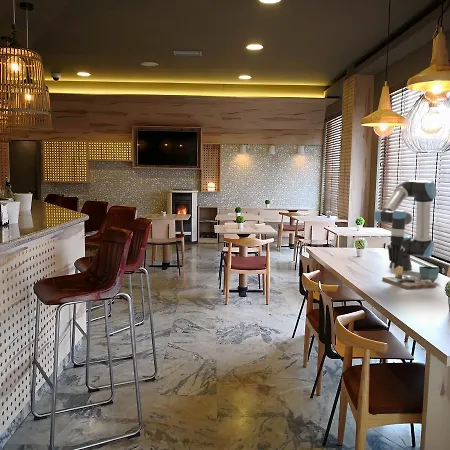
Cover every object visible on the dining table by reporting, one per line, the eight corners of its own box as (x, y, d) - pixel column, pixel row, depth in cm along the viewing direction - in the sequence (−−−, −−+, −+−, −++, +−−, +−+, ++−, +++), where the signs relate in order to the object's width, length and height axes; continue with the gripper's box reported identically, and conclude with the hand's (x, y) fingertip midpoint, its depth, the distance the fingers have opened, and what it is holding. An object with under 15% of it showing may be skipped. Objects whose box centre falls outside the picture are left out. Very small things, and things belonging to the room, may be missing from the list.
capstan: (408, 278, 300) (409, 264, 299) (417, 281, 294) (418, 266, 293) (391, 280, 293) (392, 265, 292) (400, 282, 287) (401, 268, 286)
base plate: (409, 278, 310) (409, 273, 309) (435, 287, 289) (436, 281, 289) (382, 280, 301) (382, 275, 301) (407, 289, 281) (408, 283, 281)
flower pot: (417, 279, 308) (418, 266, 307) (428, 279, 311) (429, 265, 310) (427, 283, 300) (429, 269, 299) (438, 282, 303) (439, 268, 302)
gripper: (410, 236, 287) (406, 275, 290) (394, 233, 298) (390, 270, 301) (401, 237, 284) (397, 275, 287) (385, 234, 295) (381, 271, 298)
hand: (393, 273), depth 294 cm, fingers closed
